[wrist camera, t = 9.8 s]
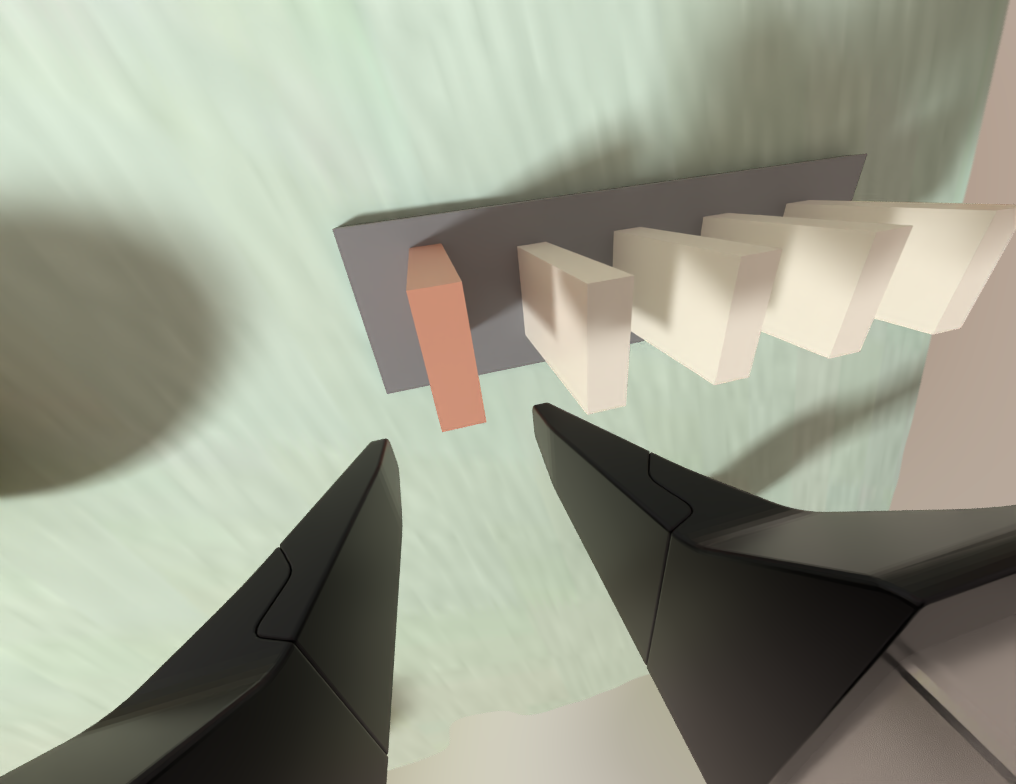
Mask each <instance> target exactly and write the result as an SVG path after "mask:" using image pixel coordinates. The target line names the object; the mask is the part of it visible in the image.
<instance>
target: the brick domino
mask: <svg viewBox="0 0 1016 784" xmlns="http://www.w3.org/2000/svg"><path fill="white" fill-rule="evenodd" d="M406 293H407V297H408V300H409V304H410V308H411V312H412V316H413V320H414V324H415V328H416V332H417V336H418V340H419V343H420V347H421V351H422V355H423V359H424V363H425V367H426V371H427V375H428V379H429V383H430V386H431V390H432V394H433V398H434V402H435V406H436V410H437V414H438V418H439V422H440V426H441V429H442V432H444V431H449V430H453V429H458V428H462V427H467V426H471V425H476V424H480V423H484V422H486V417H485V411H484V406H483V400H482V394H481V388H480V383H479V377H478V371H477V366H476V360H475V354H474V348H473V343H472V337H471V331H470V326H469V320H468V314H467V308H466V303H465V297H464V291H463V285H462V281H461V279H460V277H459V275H458V274H457V272H456V270H455V268H454V266H453V264H452V262H451V260H450V259H449V257H448V255H447V253H446V251H445V249H444V247H443V246H442V244H441V243H439V244H433V245H426V246H420V247H413V248H409V257H408V271H407V285H406Z"/></svg>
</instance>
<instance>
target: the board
mask: <svg viewBox="0 0 1016 784" xmlns="http://www.w3.org/2000/svg"><path fill="white" fill-rule="evenodd" d="M866 156H867V154H859V155H848V156H841V157H834V158H827V159H820V160H812V161H805V162H798V163H791V164H784V165H777V166H770V167H763V168H756V169H748V170H741V171H734V172H727V173H720V174H713V175H706V176H699V177H692V178H684V179H677V180H670V181H663V182H656V183H649V184H642V185H635V186H628V187H620V188H613V189H606V190H599V191H592V192H585V193H578V194H571V195H564V196H556V197H549V198H542V199H535V200H528V201H521V202H514V203H507V204H500V205H492V206H485V207H478V208H471V209H464V210H457V211H450V212H443V213H436V214H428V215H421V216H414V217H407V218H400V219H393V220H386V221H379V222H371V223H364V224H357V225H350V226H343V227H336V228H334V229H333V232H334V235H335V238H336V241H337V244H338V248H339V251H340V254H341V257H342V260H343V263H344V266H345V269H346V272H347V275H348V278H349V281H350V284H351V287H352V290H353V293H354V296H355V299H356V302H357V305H358V308H359V311H360V314H361V317H362V320H363V323H364V326H365V329H366V332H367V335H368V338H369V341H370V344H371V347H372V350H373V353H374V356H375V359H376V362H377V365H378V368H379V371H380V374H381V377H382V380H383V383H384V386H385V389H386V392H387V394H390V393H394V392H399V391H404V390H409V389H414V388H419V387H423V386H428V385H430V383H429V379H428V375H427V371H426V367H425V363H424V359H423V355H422V351H421V347H420V343H419V340H418V336H417V332H416V328H415V324H414V320H413V316H412V312H411V308H410V304H409V300H408V297H407V293H406V285H407V271H408V257H409V248H413V247H420V246H426V245H433V244H439V243H441V244H442V246H443V247H444V249H445V251H446V253H447V255H448V257H449V259H450V260H451V262H452V264H453V266H454V268H455V270H456V272H457V274H458V275H459V277H460V279H461V281H462V285H463V291H464V297H465V303H466V308H467V314H468V320H469V326H470V331H471V337H472V343H473V348H474V354H475V360H476V366H477V371H478V375H481V374H486V373H491V372H496V371H501V370H506V369H511V368H515V367H520V366H525V365H530V364H535V363H540V362H544V361H545V360H544V358H543V357H542V356H541V354H540V353H539V352H538V351H537V349H536V348H535V347H534V345H533V344H532V343H531V342H530V340H529V339H528V338H527V336H526V335H525V326H524V315H523V305H522V294H521V283H520V273H519V262H518V251H517V246H522V245H528V244H535V243H541V242H548V243H551V244H553V245H556V246H559V247H561V248H564V249H566V250H569V251H572V252H574V253H577V254H580V255H582V256H585V257H587V258H590V259H593V260H595V261H598V262H601V263H603V264H606V265H608V266H611V267H613V239H614V231H617V230H623V229H630V228H636V227H645V228H652V229H658V230H665V231H671V232H677V233H684V234H690V235H696V236H701V229H702V222H703V217H705V216H712V215H718V214H724V213H737V214H752V215H766V216H781V217H783V215H784V211H785V207H786V204H787V203H794V202H800V201H806V200H832V201H852V198H853V195H854V192H855V189H856V186H857V183H858V180H859V177H860V174H861V171H862V168H863V165H864V162H865V159H866ZM641 341H645V340H644V339H642V338H640V337H639V336H637V335H636V334H634V333H633V332H631V334H630V344H631V343H636V342H641Z"/></svg>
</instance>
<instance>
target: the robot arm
mask: <svg viewBox="0 0 1016 784" xmlns="http://www.w3.org/2000/svg"><path fill="white" fill-rule="evenodd" d="M532 412H533V423H534V432H535V437H536V440H537V443H538V446H539V448H540V451H541V454H542V457H543V459H544V462H545V465H546V468H547V470H548V473H549V476H550V479H551V481H552V484H553V486H554V488H555V490H556V492H557V494H558V496H559V498H560V500H561V502H562V504H563V506H564V508H565V510H566V512H567V514H568V516H569V518H570V520H571V522H572V523H573V525H574V527H575V529H576V531H577V533H578V535H579V537H580V539H581V541H582V543H583V545H584V547H585V549H586V551H587V552H588V554H589V556H590V558H591V560H592V562H593V564H594V566H595V568H596V570H597V572H598V574H599V576H600V578H601V580H602V581H603V583H604V585H605V587H606V589H607V591H608V593H609V595H610V597H611V599H612V601H613V603H614V605H615V607H616V609H617V611H618V612H619V614H620V616H621V618H622V620H623V622H624V624H625V626H626V628H627V630H628V632H629V634H630V636H631V638H632V640H633V641H634V643H635V645H636V647H637V649H638V651H639V653H640V655H641V657H642V659H643V661H644V663H645V664H646V665H647V669H648V671H649V673H650V675H651V677H652V679H653V680H654V682H655V684H656V686H657V688H658V690H659V692H660V694H661V696H662V698H663V700H664V702H665V704H666V706H667V708H668V709H669V711H670V713H671V715H672V717H673V719H674V721H675V723H676V725H677V727H678V729H679V731H680V733H681V735H682V736H683V739H684V740H685V742H686V744H687V746H688V748H689V750H690V752H691V754H692V756H693V758H694V760H695V762H696V763H697V766H698V767H699V770H700V772H701V773H702V775H703V777H704V779H705V781H706V783H707V784H1016V505H1011V506H1004V507H992V508H977V509H955V510H954V509H952V510H902V511H853V512H813V511H804V510H799V509H794V508H790V507H786V506H782V505H779V504H777V503H774V502H771V501H768V500H766V499H763V498H761V497H758V496H755V495H753V494H750V493H748V492H745V491H742V490H740V489H737V488H735V487H732V486H729V485H727V484H724V483H722V482H719V481H717V480H714V479H711V478H709V477H706V476H704V475H702V474H699V473H697V472H694V471H692V470H689V469H687V468H684V467H682V466H680V465H678V464H676V463H673V462H671V461H669V460H667V459H665V458H663V457H660V456H658V455H656V454H654V453H652V452H651V453H650V454H649V451H648V450H646V449H644V448H641V447H639V446H637V445H635V444H633V443H631V442H629V441H627V440H625V439H623V438H621V437H619V436H616V435H614V434H612V433H610V432H608V431H606V430H604V429H602V428H600V427H598V426H596V425H593V424H591V423H589V422H587V421H585V420H583V419H581V418H579V417H577V416H575V415H573V414H571V413H568V412H566V411H564V410H562V409H560V408H558V407H556V406H554V405H552V404H550V403H542V404H538V405H534V406H533V409H532ZM401 543H402V508H401V493H400V478H399V468H398V464H397V461H396V458H395V455H394V452H393V449H392V447H391V444H390V442H389V440H388V439H381V440H377V441H372V442H371V443H369V444H368V446H367V447H366V448H365V449H364V450H363V451H362V452H361V454H360V455H359V456H358V457H357V458H356V459H355V460H354V461H353V463H352V464H351V465H350V466H349V467H348V468H347V469H346V470H345V472H344V473H343V474H342V475H341V476H340V477H339V478H338V479H337V481H336V482H335V483H334V484H333V485H332V486H331V487H330V488H329V490H328V491H327V492H326V493H325V494H324V495H323V496H322V498H321V499H320V500H319V501H318V502H317V503H316V504H315V505H314V507H313V508H312V509H311V510H310V511H309V512H308V513H307V514H306V516H305V517H304V518H303V519H302V520H301V521H300V522H299V523H298V525H297V526H296V527H295V528H294V529H293V530H292V531H291V533H290V534H289V535H288V536H287V537H286V538H285V539H284V540H283V542H282V543H281V544H280V547H278V548H276V549H275V550H274V552H273V553H272V554H271V555H270V556H269V557H268V558H267V559H266V561H265V562H264V563H263V564H262V565H261V566H260V567H259V568H258V569H257V570H256V571H255V573H254V574H253V575H252V576H251V577H250V578H249V579H248V580H247V581H246V582H245V583H244V584H243V586H242V587H241V588H240V589H239V590H238V591H237V592H236V593H235V594H234V595H233V596H232V597H231V598H230V599H229V600H228V601H227V602H226V603H225V604H224V605H223V606H222V607H221V608H220V609H219V610H218V611H217V612H216V613H215V614H214V615H213V616H212V617H211V618H210V619H209V620H208V621H207V622H206V623H205V624H204V625H203V626H202V627H201V628H200V629H199V630H198V631H197V632H196V633H195V634H194V635H193V636H192V637H191V638H190V639H189V640H188V641H187V642H186V643H185V644H184V645H183V646H182V647H181V648H180V649H179V650H177V651H176V652H175V653H174V654H173V655H172V656H171V657H170V658H169V659H168V660H167V661H166V662H165V663H164V664H163V665H162V666H161V667H160V668H159V669H158V670H157V671H156V672H155V673H154V674H153V675H152V676H151V677H150V678H149V679H148V680H147V681H146V682H145V683H144V684H143V685H142V686H141V687H140V688H139V689H138V690H137V691H136V692H134V693H133V694H132V695H131V696H130V697H129V698H128V699H127V700H126V701H124V702H123V703H122V704H121V705H120V706H118V707H117V708H116V709H115V710H113V711H112V712H111V713H109V714H108V715H107V716H105V717H104V718H102V719H101V720H100V721H98V722H97V723H96V724H94V725H93V726H91V727H89V728H88V729H86V730H85V731H83V732H82V733H80V734H78V735H77V736H75V737H73V738H72V739H70V740H68V741H66V742H65V743H63V744H61V745H59V746H57V747H55V748H53V749H51V750H50V751H48V752H46V753H44V754H42V755H40V756H38V757H36V758H35V759H33V760H31V761H29V762H27V763H25V764H23V765H21V766H20V767H18V768H16V769H14V770H12V771H10V772H8V773H6V774H5V775H3V776H1V777H0V784H386V782H387V766H388V756H387V754H388V748H389V732H390V716H391V700H392V685H393V669H394V653H395V638H396V622H397V606H398V590H399V575H400V559H401Z"/></svg>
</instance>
